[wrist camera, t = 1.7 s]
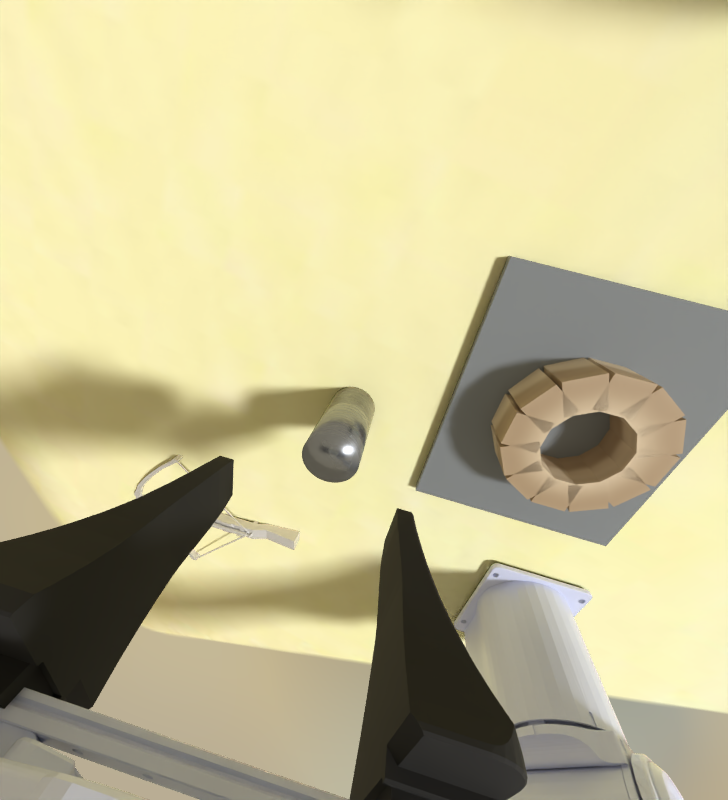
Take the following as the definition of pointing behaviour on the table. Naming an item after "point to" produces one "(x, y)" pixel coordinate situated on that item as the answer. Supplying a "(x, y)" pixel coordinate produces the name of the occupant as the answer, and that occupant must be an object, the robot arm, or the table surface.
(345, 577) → the table surface
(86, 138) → the table surface
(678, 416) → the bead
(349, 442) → the peg
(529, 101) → the table surface
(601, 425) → the mat
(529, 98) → the table surface
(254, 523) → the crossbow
